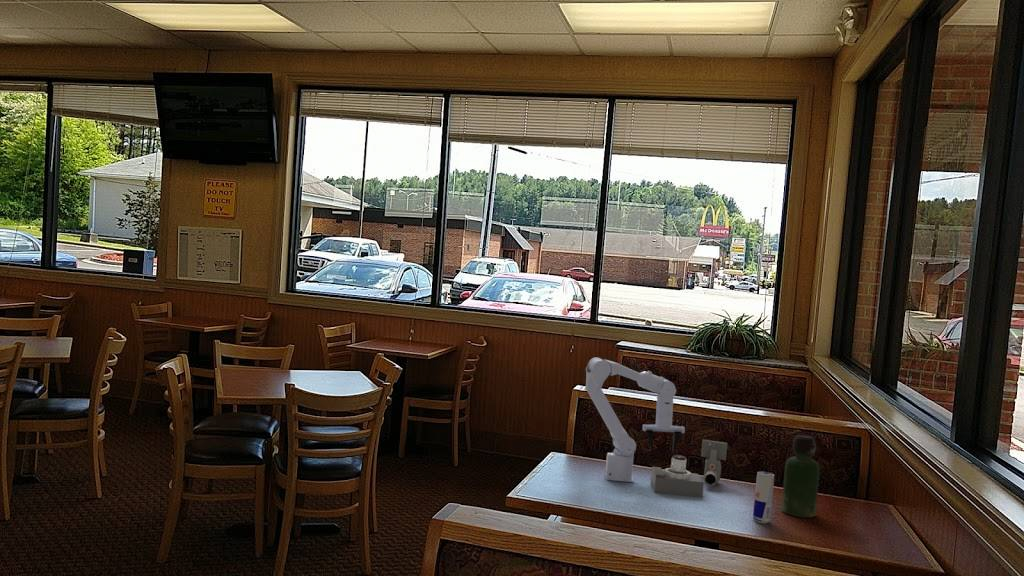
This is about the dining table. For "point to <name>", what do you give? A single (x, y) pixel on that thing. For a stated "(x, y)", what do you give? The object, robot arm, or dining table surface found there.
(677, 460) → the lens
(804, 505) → the green bottle
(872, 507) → the dining table surface
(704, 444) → the camera
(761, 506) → the beverage can
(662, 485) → the mount block
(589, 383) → the robot arm
